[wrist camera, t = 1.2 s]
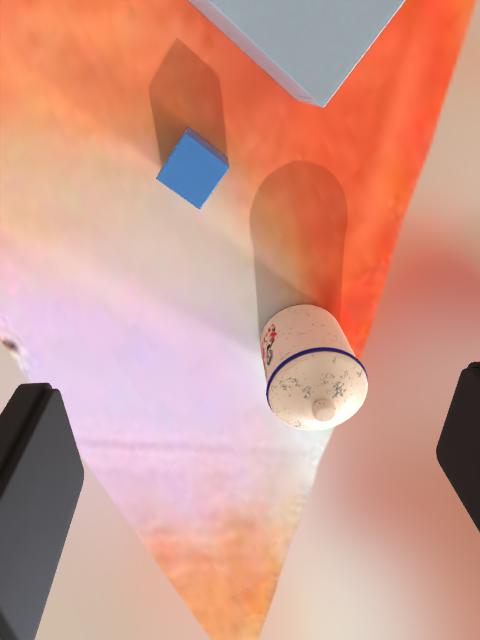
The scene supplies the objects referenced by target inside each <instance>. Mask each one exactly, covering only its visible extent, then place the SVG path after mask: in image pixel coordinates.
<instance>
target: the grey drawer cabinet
mask: <svg viewBox="0 0 480 640" xmlns="http://www.w3.org/2000/svg"><path fill="white" fill-rule="evenodd" d="M188 1H189V2H190V3H191V4H192V5H193V6H194V7H195V8H196V9H197V10H198V11H200V12H201V13H202V14H203V15H204V16H205V17H206V18H207V19H208V20H209V21H210V22H212V23H213V24H214V25H215V26H216V27H217V28H218V29H219V30H220V31H221V32H222V33H224V34H225V35H226V36H227V37H228V38H229V39H230V40H231V41H232V42H233V43H235V44H236V45H237V46H238V47H239V48H240V49H241V50H242V51H243V52H244V53H245V54H247V55H248V56H249V57H250V58H251V59H252V60H253V61H254V62H255V63H256V64H257V65H259V66H260V67H261V68H262V69H263V70H264V71H265V72H266V73H267V74H268V75H269V76H271V77H272V78H273V79H274V80H275V81H276V82H277V83H278V84H279V85H280V86H282V87H283V88H284V89H285V90H286V91H287V92H288V93H289V94H290V95H291V96H292V97H294V98H295V99H296V100H298V101H302V102H305V103H309V104H312V105H316V106H319V107H323V108H324V107H325V105H326V104H327V103H328V101H329V100H330V99H331V97H332V96H333V95H334V94H335V92H336V91H337V90H338V88H339V87H340V86H341V84H342V83H343V82H344V80H345V79H346V78H347V76H348V75H349V74H350V72H351V71H352V70H353V69H354V67H355V66H356V65H357V63H358V62H359V61H360V59H361V58H362V57H363V55H364V54H365V53H366V51H367V50H368V49H369V48H370V46H371V45H372V44H373V42H374V41H375V40H376V38H377V37H378V36H379V34H380V33H381V32H382V30H383V29H384V28H385V26H386V25H387V24H388V23H389V21H390V20H391V19H392V17H393V16H394V15H395V13H396V12H397V11H398V9H399V8H400V7H401V5H402V4H403V3H404V1H405V0H188Z"/></svg>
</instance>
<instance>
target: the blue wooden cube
mask: <svg viewBox="0 0 480 640" xmlns="http://www.w3.org/2000/svg"><path fill="white" fill-rule="evenodd" d="M228 169H229V162H228V158H227V157H226V156H225V155H223V154H222V153H221V152H220V151H218V150H217V149H216V148H214V147H213V146H212V145H211V144H209V143H208V142H207V141H206V140H204V139H203V138H202V137H200V136H199V135H198V134H197V133H195V132H194V131H193V130H192V129H190V128H189V127H187V129H186V130H185V132H184V134H183V135H182V137H181V138H180V140H179V141H178V143H177V145H176V146H175V148H174V149H173V151H172V152H171V154H170V156H169V157H168V159H167V160H166V162H165V163H164V165H163V167H162V168H161V170H160V172H159V174H158V176H157V178H156V179H158V180H159V181H160V182H162V183H163V184H165V185H166V186H167V187H169V188H170V189H172V190H173V191H174V192H176V193H177V194H179V195H180V196H181V197H183V198H184V199H186V200H187V201H188V202H190V203H191V204H193V205H194V206H195V207H197V208H198V209H201V207H202V206H203V204H204V203H205V201H206V200H207V199H208V197H209V196H210V194H211V193H212V192H213V190H214V189H215V187H216V186H217V185H218V183H219V182H220V180H221V179H222V177H223V176H224V175H225V173H226V172H227V170H228Z"/></svg>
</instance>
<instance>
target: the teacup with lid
mask: <svg viewBox="0 0 480 640" xmlns="http://www.w3.org/2000/svg"><path fill="white" fill-rule="evenodd" d="M260 348H261V353H262V359H263V364H264V370H265V376H266V381H267V390H266V395H267V401H268V404H269V406H270V408H271V410H272V411H273V413H274V414H275V415H276V416H277V417H278V418H279V419H280V420H281V421H283V422H284V423H286V424H287V425H289V426H292V427H294V428H298V429H303V430H321V429H326V428H330V427H333V426H336V425H338V424H340V423H342V422H344V421H345V420H347V419H348V418H350V417H351V416H352V415H353V414H354V413H356V411H357V410H358V409H359V408H360V407H361V405H362V403H363V401H364V399H365V397H366V393H367V389H368V378H367V373H366V371H365V368H364V367H363V365H362V364H361V362H360V361H359V360H358V359H357V358H356V357H355V355H354V353H353V351H352V349H351V347H350V345H349V343H348V341H347V339H346V337H345V335H344V333H343V331H342V330H341V328H340V326H339V324H338V322H337V320H336V319H335V317H334V316H333V315H332V314H331V313H329V312H328V311H327V310H325V309H323V308H321V307H318V306H314V305H295V306H291V307H288V308H285V309H283V310H281V311H280V312H278V313H277V314H275V315H274V316H273V317H272V318H271V319H270V320H269V321H268V322H267V324H266V325H265V327H264V329H263V331H262V334H261V338H260Z"/></svg>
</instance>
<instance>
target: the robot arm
mask: <svg viewBox="0 0 480 640" xmlns="http://www.w3.org/2000/svg"><path fill="white" fill-rule="evenodd" d="M436 454H437V459H438V462H439V464H440V466H441V467H442V469H443V471H444V472H445V474H446V476H447V477H448V479H449V481H450V483H451V484H452V486H453V488H454V489H455V491H456V493H457V494H458V496H459V498H460V500H461V501H462V503H463V505H464V506H465V508H466V510H467V511H468V513H469V515H470V517H471V518H472V520H473V522H474V523H475V525H476V527H477V528H478V530H479V532H480V362H473V363H470V364H469V365H468V367H467V368H466V369H464V370H462V372H461V374H460V377H459V380H458V384H457V387H456V390H455V393H454V396H453V399H452V402H451V405H450V408H449V411H448V414H447V417H446V420H445V423H444V427H443V430H442V432H441V436H440V439H439V442H438V445H437V449H436ZM83 480H84V469H83V465H82V462H81V459H80V455H79V452H78V449H77V446H76V442H75V439H74V436H73V433H72V429H71V426H70V423H69V419H68V416H67V413H66V410H65V406H64V403H63V400H62V396H61V393H60V391H59V390H58V389H52V386H51V385H50V384H49V383H31V384H21V385H19V386H18V388H17V389H16V390H15V392H14V394H13V395H12V397H11V399H10V400H9V402H8V403H7V405H6V407H5V408H4V410H3V412H2V413H1V415H0V640H34V639H35V636H36V633H37V630H38V627H39V624H40V621H41V617H42V614H43V611H44V607H45V604H46V601H47V598H48V595H49V592H50V588H51V585H52V582H53V579H54V575H55V572H56V569H57V566H58V563H59V559H60V556H61V553H62V549H63V546H64V543H65V540H66V537H67V534H68V530H69V527H70V524H71V521H72V518H73V514H74V511H75V508H76V505H77V501H78V498H79V495H80V492H81V489H82V485H83Z"/></svg>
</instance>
